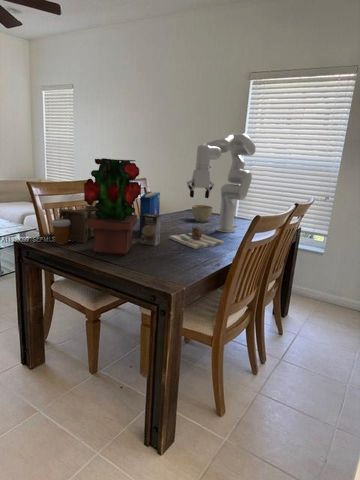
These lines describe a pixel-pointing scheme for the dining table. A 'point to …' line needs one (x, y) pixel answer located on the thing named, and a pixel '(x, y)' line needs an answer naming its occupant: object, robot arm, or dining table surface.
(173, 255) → the dining table surface
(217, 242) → the dial plate
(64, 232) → the disposable coffee cup
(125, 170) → the potted plant
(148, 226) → the coffee box
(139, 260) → the dining table surface
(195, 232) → the dial pointer knob
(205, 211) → the planter bowl
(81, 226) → the ornamental box
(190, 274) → the dining table surface
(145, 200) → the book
